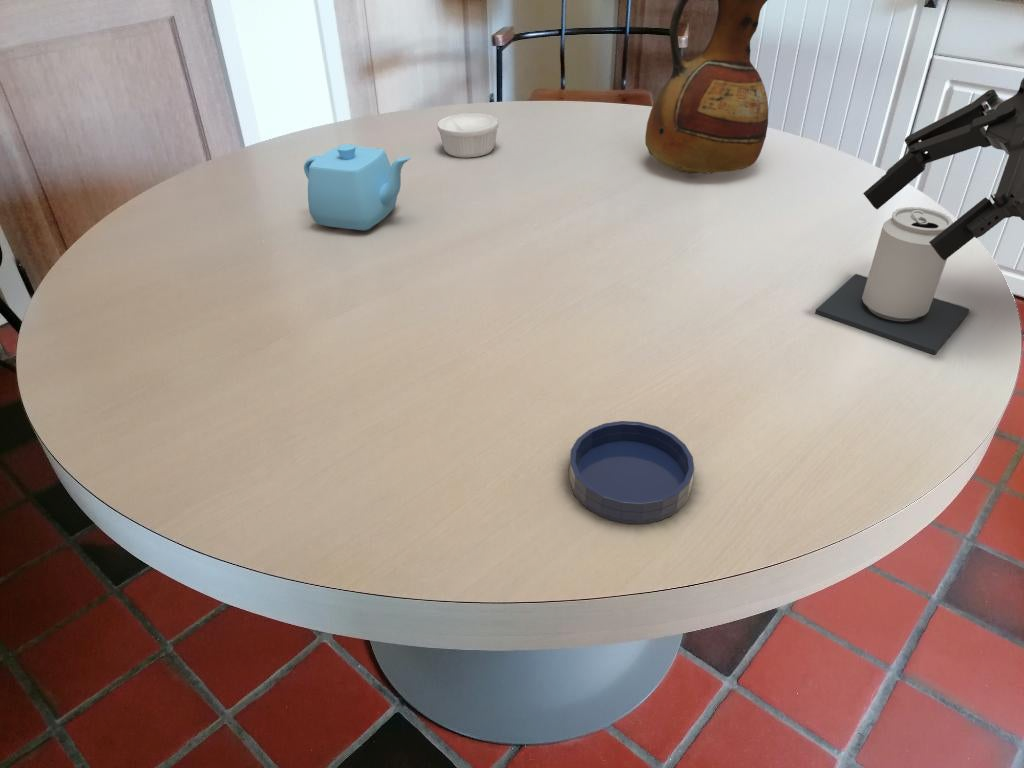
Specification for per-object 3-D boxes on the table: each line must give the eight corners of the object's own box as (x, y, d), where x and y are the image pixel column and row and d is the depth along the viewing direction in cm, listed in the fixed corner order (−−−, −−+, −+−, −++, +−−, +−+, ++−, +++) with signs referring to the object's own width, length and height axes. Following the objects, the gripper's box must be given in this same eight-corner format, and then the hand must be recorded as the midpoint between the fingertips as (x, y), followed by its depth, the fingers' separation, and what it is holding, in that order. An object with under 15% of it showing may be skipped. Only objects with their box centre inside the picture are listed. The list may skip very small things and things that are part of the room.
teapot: (401, 243, 110) (392, 166, 104) (293, 229, 115) (278, 155, 108) (433, 210, 120) (427, 138, 113) (333, 198, 125) (321, 129, 118)
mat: (968, 313, 91) (970, 308, 91) (934, 355, 84) (936, 350, 84) (854, 277, 99) (855, 273, 99) (814, 313, 92) (815, 309, 92)
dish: (713, 475, 69) (717, 455, 68) (645, 544, 63) (648, 523, 61) (616, 426, 75) (617, 406, 74) (545, 483, 69) (545, 463, 68)
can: (873, 325, 88) (902, 230, 81) (851, 294, 94) (876, 203, 87) (937, 324, 88) (972, 230, 81) (911, 293, 94) (941, 202, 87)
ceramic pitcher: (765, 189, 124) (803, -15, 106) (642, 184, 127) (658, -15, 109) (753, 148, 140) (784, -35, 122) (643, 145, 142) (658, -34, 125)
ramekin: (427, 152, 142) (424, 123, 139) (467, 136, 149) (465, 109, 146) (471, 164, 136) (469, 135, 133) (510, 147, 143) (510, 119, 140)
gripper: (1195, 140, 69) (985, 297, 76) (1013, 73, 89) (861, 202, 96) (1171, 83, 65) (953, 254, 73) (987, 26, 85) (831, 164, 93)
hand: (900, 225), depth 84 cm, fingers open, 13 cm apart
